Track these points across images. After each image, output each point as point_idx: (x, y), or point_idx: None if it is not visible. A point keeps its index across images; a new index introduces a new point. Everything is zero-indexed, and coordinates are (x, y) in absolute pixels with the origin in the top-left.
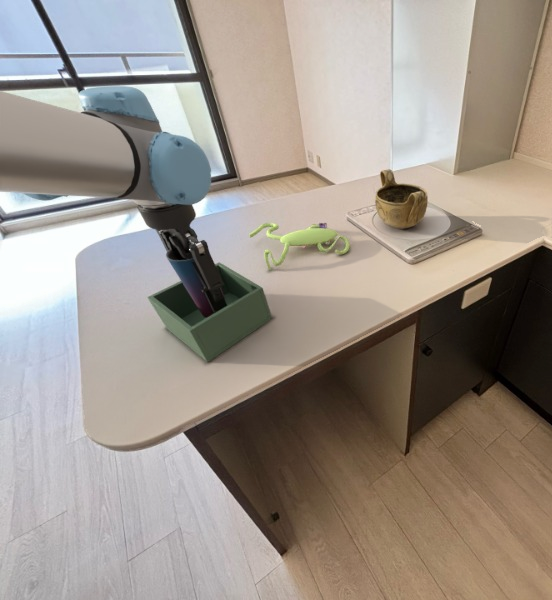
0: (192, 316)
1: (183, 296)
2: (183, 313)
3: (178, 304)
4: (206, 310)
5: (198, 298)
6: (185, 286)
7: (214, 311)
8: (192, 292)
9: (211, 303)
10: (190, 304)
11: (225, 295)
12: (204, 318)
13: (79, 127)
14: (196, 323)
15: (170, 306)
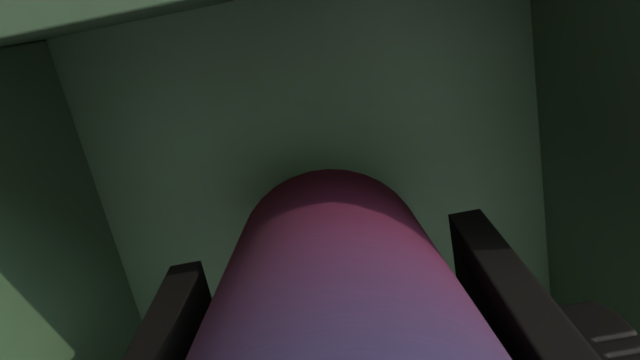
0: (494, 94)
1: (620, 146)
2: (545, 58)
3: (592, 70)
4: (245, 235)
5: (224, 302)
6: (301, 355)
7: (161, 284)
8: (228, 335)
9: (134, 344)
10: (567, 138)
11: None
12: (414, 148)
13: None
14: (400, 90)
15: (599, 6)
